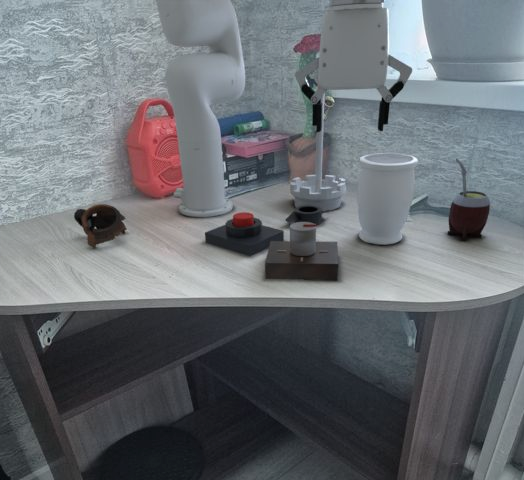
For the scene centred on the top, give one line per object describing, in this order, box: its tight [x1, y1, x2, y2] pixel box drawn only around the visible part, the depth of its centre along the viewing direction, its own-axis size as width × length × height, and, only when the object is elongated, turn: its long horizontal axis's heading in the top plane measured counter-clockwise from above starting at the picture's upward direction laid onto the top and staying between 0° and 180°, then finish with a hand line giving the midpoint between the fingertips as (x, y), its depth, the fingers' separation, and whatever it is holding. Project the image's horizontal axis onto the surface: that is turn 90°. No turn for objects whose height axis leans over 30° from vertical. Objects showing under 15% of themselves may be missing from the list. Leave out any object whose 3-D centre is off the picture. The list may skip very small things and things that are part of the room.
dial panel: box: [264, 240, 339, 282], centre depth 83 cm, size 12×10×3 cm
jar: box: [356, 152, 419, 246], centre depth 91 cm, size 11×10×15 cm
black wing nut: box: [284, 205, 331, 227], centre depth 103 cm, size 8×10×3 cm
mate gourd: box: [447, 158, 491, 242], centre depth 90 cm, size 8×8×15 cm
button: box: [232, 211, 255, 227], centre depth 93 cm, size 4×4×2 cm
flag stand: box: [289, 69, 347, 211], centre depth 107 cm, size 13×13×30 cm
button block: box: [204, 217, 285, 257], centre depth 95 cm, size 12×10×4 cm
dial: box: [289, 222, 317, 256], centre depth 81 cm, size 4×4×5 cm
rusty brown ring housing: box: [73, 203, 128, 249], centre depth 98 cm, size 12×10×8 cm
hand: (349, 130), depth 77 cm, fingers open, 9 cm apart
